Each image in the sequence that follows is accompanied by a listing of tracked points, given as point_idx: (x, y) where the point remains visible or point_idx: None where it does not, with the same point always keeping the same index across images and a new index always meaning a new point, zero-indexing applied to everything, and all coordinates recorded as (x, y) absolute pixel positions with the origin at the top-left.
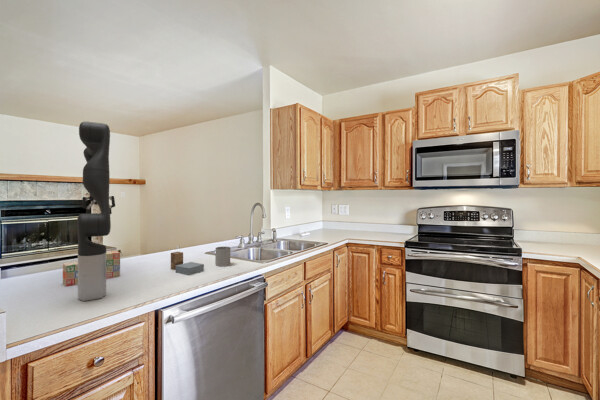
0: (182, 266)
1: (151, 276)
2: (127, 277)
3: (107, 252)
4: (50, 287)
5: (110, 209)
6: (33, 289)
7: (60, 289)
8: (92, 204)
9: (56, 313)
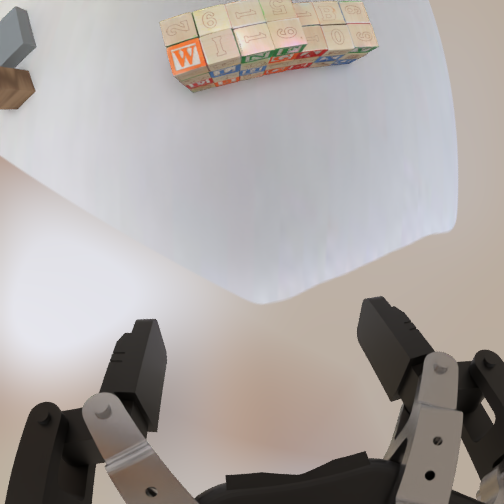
0: (15, 28)
1: (97, 18)
2: None
3: (214, 32)
4: None
5: (112, 384)
6: (406, 55)
7: None
8: (428, 423)
9: None
